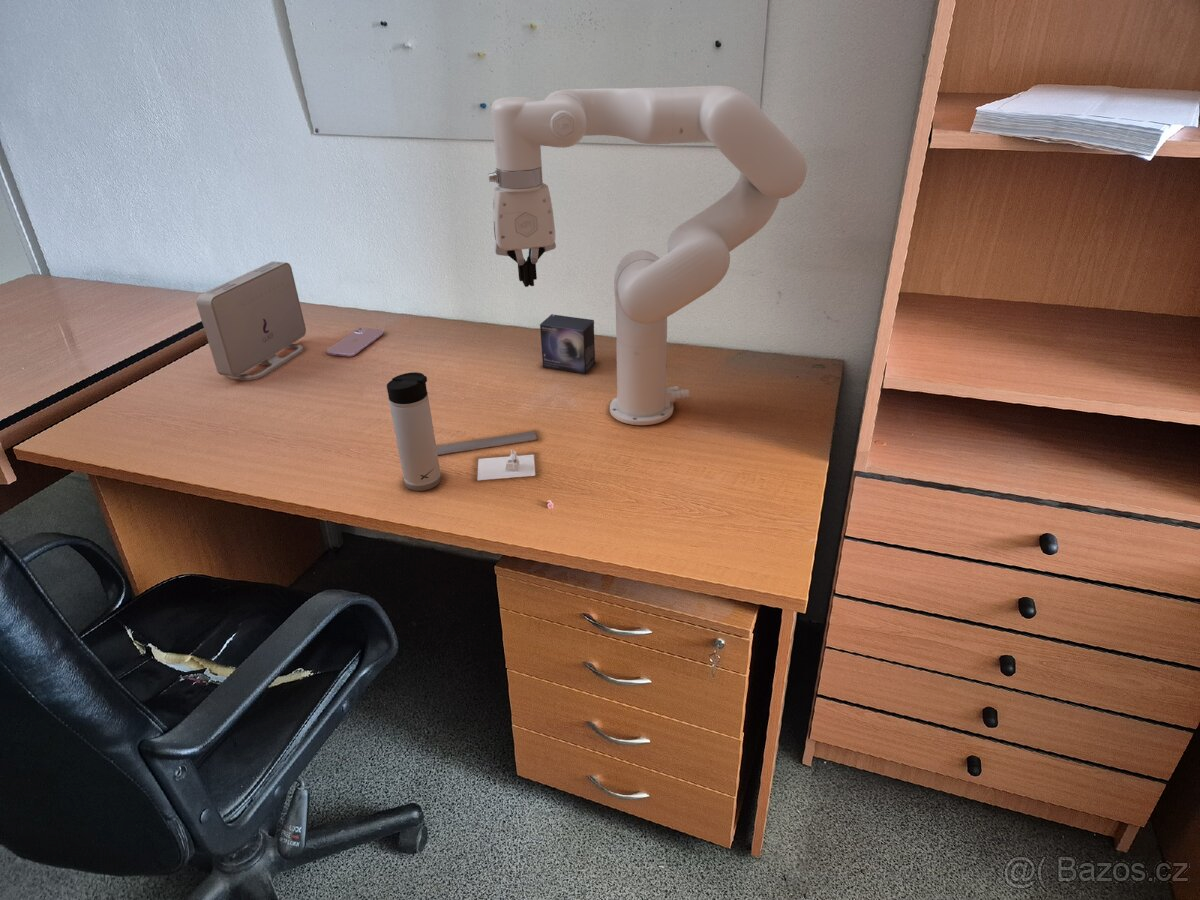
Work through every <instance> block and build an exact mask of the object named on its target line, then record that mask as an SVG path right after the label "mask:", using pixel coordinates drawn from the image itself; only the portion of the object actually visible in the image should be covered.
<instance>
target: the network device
mask: <svg viewBox="0 0 1200 900" xmlns="http://www.w3.org/2000/svg"><path fill="white" fill-rule="evenodd" d="M300 302H301V301H300V298H299V294H298V290H297V285H296V282H295V277H294V272H293V269H292V265H291V264H290V262H289V263H288V262H284V261H270V262H268V263H266V264H264V265H261V266H259V267H257V268H254V269H253V270H250V271H249V272H246V273H244V274H241V275H240V276H238V277H235V278H233V279H231V280H229V281H226V282H225V283H222V284H220V285H217V286H216V287H214V288H211V289H210V290H207V291H205V292H203V293H201V294H199V295H198V296H197V297H196V307H197V310H198V314H199V317H200V319H201V323H202V326H203V330H204V333H205V336H206V339H207V342H208V346H209V348H210V352H211V355H212V358H213V362H214V366H215V368H216V372H217V373H218V374H219V375H220V376H227V377H228V378H230V379H234V380H240V381H253V380H257V379H261V378H262V377H265V376H266V375H268V374H270V373H271V372H272V371H274V370H275V369H277V368H279V367H280V366H282V365H284V364H285V363H287V362H289V361H290V360H291V359H293V358H294V357H296V356H298V355H299V354H301V353H302V352H303V351H304V348H303V345H302V344H299V343H296V342H297V341H299V340H301V339H303V337H304V336H305V335H306V333H307V328H306V324H305V319H304V315H303V310H302V306H301V303H300ZM286 348H288V349H295V350H293V351H292V352H291V353H289V354H287V355H286V356H283V357H278V356H277V353H279V352H281V351H282V350H284V349H286ZM258 365H264V366H268V367H266V368H265V369H263V370H262V371H260V372H258V373H257V374H254V375H249V374H245V373H246V372H248V371H250V370H251V369H253V368H255V367H256V366H258Z"/></svg>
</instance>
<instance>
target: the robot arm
mask: <svg viewBox="0 0 1200 900" xmlns="http://www.w3.org/2000/svg"><path fill="white" fill-rule="evenodd" d="M490 110H491V112H490V113H491V123H492V134H493V135H492V136H493V147H494V155H495V166H496V167H495V170H494V171H493V172H491V173H488V174H487V175H488V176H487V177H488V182H489V183H495V184H497V186H494V189H493V190H494V191H493V203H492V204H493V209H492V210H493V212H492V213H493V214H492V215H493V232H494V233H493V234H494V240H495V243H494V245H495V246H494V252H495V254H496V255H497V256H504V257H509V258H510V259H512V261H514V262H515V263H517V273H518V281H519V282H522V284H523V286H524V287H525V288H529V287H534V286H535V281H536V280H537V279H538V276H537V263H538V261H539V260H540V259H541V257H542V255H544V253H546V252H549V251H552V250H555V249H556V248H557V244H556V227H555V219H554V210H553V203H552V197H551V192H550V189H549V186H548V184H546V183H544V182H543V181H544V179H543V163H542V149H541V148H542V147H552V148H558V149H559V148H561V149H562V148H570V147H573V146H575V145H576V144H578V143H579V142H580V141H582V139H583V138H584V136H585V137H586V136H587V137H588V136H607V137H610V136H611V137H619V138H623V139H628V140H630V141H633V142H636V143H638V144H644V145H670V144H690V143H691V144H693V143H694V144H703V143H711V144H713V145H714V146H715V147H716V148H717V149H718V150H719V152H720V153H721V154H723V156H724V157H725V158H726V159H727V160H728V161H729V162H730V163H731V164H732V166H734V167H735V168H736V169H737V170H738V171H739V172H740V173H739V175H738V179H737V181H736V183H735V184H734V185H733V186H732V188H731V189H730V190H729V191H728V192H727V193H726V194H724V195H723V196H721V198H719V199H718V200H717V201H715V202H714V203H713V204H711V205H709V206H708V207H706V208H705V209H703V210H701V211H700V212H699V213H697V214H696V215H694V216H692V217H690V218H689V219H688V220H686V221H684V222H682V223H681V224H680V225H678V226H676V227H675V229H673V230H672V231H671V233H670V234H669V236H668V238H667V242H666V249H667V253H666V254H664V255H663V256H661V257H659V256H658V255H656V254H655V253H653V252H651V251H648V250H644V249H638V250H637V249H636V250H633V251H630V252H628V253H627V254H625V255H624V256H623V257H622V258H621V259H620V261H619V262H618V263H617V265H616V269H615V270H614V276H613V288H614V289H613V291H614V306H615V325H616V326H615V335H616V336H615V338H616V339H615V341H616V342H615V344H616V351H615V352H616V397H614V398H613V399H612V400H611V401H610V403H609V414H610V415H611V417H613V419H615V420H617V421H619V422H621V423H623V424H627V425H632V426H650V425H656V424H659V423H662V422H664V421H666V420H668V419H669V418H671V416H672V415H673V413H674V403H675V402H676V401H683V400H689V399H690V397H691V395H690V390H689V389H688V388H685V389H680V388H679V386H678V385H675V386H669V387H668V386H667V348H668V347H667V345H668V343H667V341H668V340H667V339H668V317H670V316H672V315H673V314H675V313H677V312H678V311H680V310H682V309H683V308H685V307H686V306H688V305H690V304H691V303H693V302H694V301H696V300H698V299H699V298H701V297H703V296H704V295H705V294H708V293H709V292H710V291H711V290H713V289H715V288H716V287H717V286H718V285H719V284H720V283H721V281H722V280H723V279H724V278H725V276H726V275H727V272H728V270H729V268H730V264H731V254H730V252H732V251H733V250H735V249H736V248H738V247H739V246H741V244H744V243H746V241H747V240H750V239H751V238H752V237H753V236H754V235H756V234H757V233H758V232H759V231H761V230H762V229H763V228H764V227H765V226H766V225H767V223H768V222H769V221H770V219H771V218H772V216H773V215H774V213H775V211H776V209H777V207H778V206H779V203H780V199H785V198H789V197H791V196H792V195H795V193H797V192H798V191H799V190H800V188H801V187H802V186H803V184H804V182H805V180H806V177H807V171H808V168H807V167H808V166H807V161H806V158H805V156H804V154H803V152H802V151H801V150H800V149H799V147H797V145H796V144H794V142H793V141H792V140H791V139H790V138H789V137H788V136H787V135H786V134H785V133H784V132H783V131H782V130H781V129H780V128H779V127H778V126H777V125H776V124H775V123H774V121H772V119H770V118H769V117H768V116H767V114H766V113H765V112H764V111H763V110H762V108H760V107H759V106H758V105H757V103H756V102H755V101H754V100H753V98H751V97H750V96H749V95H747V94H746V93H745V92H743V91H740V90H739V89H738V88H736V87H733V86H731V85H730V86H729V85H695V86H694V85H693V86H692V85H691V86H666V87H665V86H663V87H662V86H661V87H625V88H623V87H622V88H621V87H620V88H619V87H617V88H616V87H598V88H597V87H596V88H595V87H594V88H593V87H591V88H566V89H559V90H555V91H552V92H551V93H549V94H548V95H547V96H546V97H545V98H544V99H543V100H535V99H534V98H532V97H529V96H504V97H500V98H497V99H495V100H494V101H493V102H492V104H491V109H490ZM541 146H542V147H541ZM523 250H528V251H527V255H528V256H527V258H526V259H525V258H524V254H523Z"/></svg>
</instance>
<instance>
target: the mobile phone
mask: <svg viewBox="0 0 1200 900" xmlns="http://www.w3.org/2000/svg"><path fill="white" fill-rule="evenodd" d="M384 334H385V332H384V330H383V329H374V328H365V327H359V328H356V329H355V330H354V331H352V332H351V333H349V334H348V335H346V336H345V337H343V338H342V339H341V340H338V342H336V343H334V344H333V345H332V346H331V347H329V348H328V349H326V351H325V353H326V354H327V355H329V356H338V357H347V358H352V357H354V356H356V355H357V354H359V353H360V352H361V351H363V350H364V349H365V348H367V347H368V346H369V345H371V344H372V343H374V342H375V341H376V340H378V339H379V338H380V337H382V336H383V335H384Z"/></svg>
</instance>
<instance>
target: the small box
mask: <svg viewBox="0 0 1200 900" xmlns="http://www.w3.org/2000/svg"><path fill="white" fill-rule="evenodd" d="M539 329H540V343H541V359H542V367H543V368H546V369H552V370H557V371H558V370H559V371H564V372H571V373H576V374H581V375H586V374H587V373H588V372H589V371H590V370H591V369H592V368H593V367H594V366H595V364H596V349H595V345H596V344H595V320H594V319H591V318H590V319H589V318H583V317H574V316H567V315H560V314H553V313H551V314H550V315H549V316H548V317H547V318H545V319H544V320H543V321H542V322H541V323H540V324H539Z"/></svg>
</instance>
